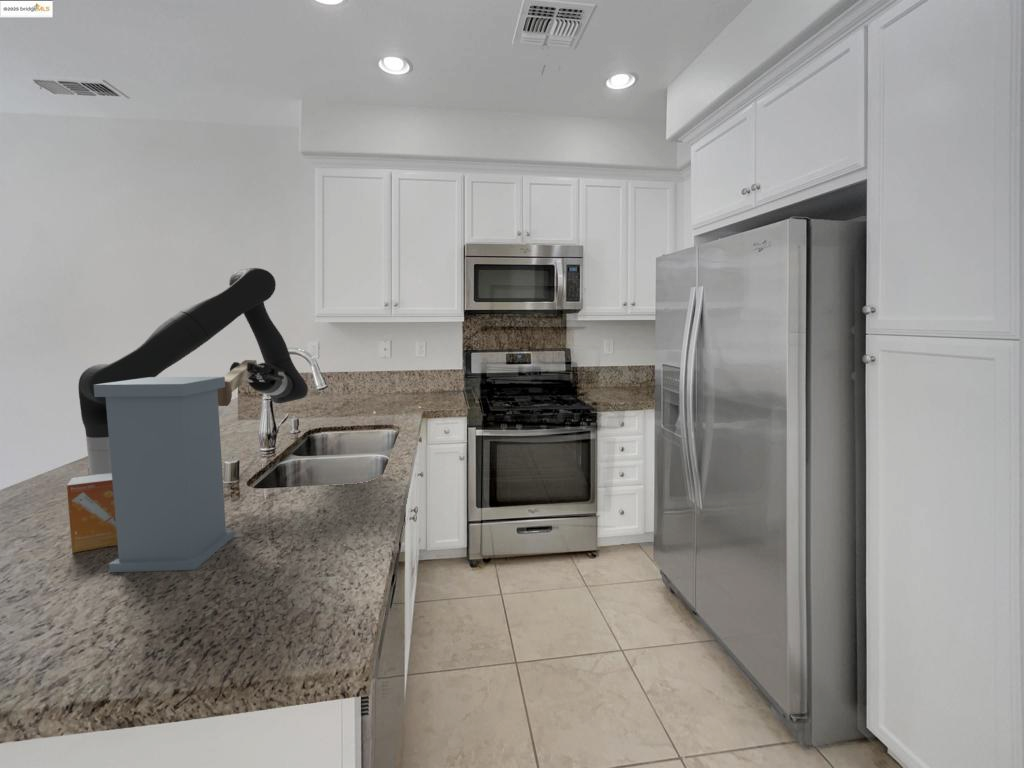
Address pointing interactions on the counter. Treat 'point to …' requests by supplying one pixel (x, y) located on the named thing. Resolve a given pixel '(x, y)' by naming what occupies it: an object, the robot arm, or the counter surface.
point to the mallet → (233, 382)
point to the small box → (91, 512)
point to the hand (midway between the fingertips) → (241, 366)
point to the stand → (165, 471)
